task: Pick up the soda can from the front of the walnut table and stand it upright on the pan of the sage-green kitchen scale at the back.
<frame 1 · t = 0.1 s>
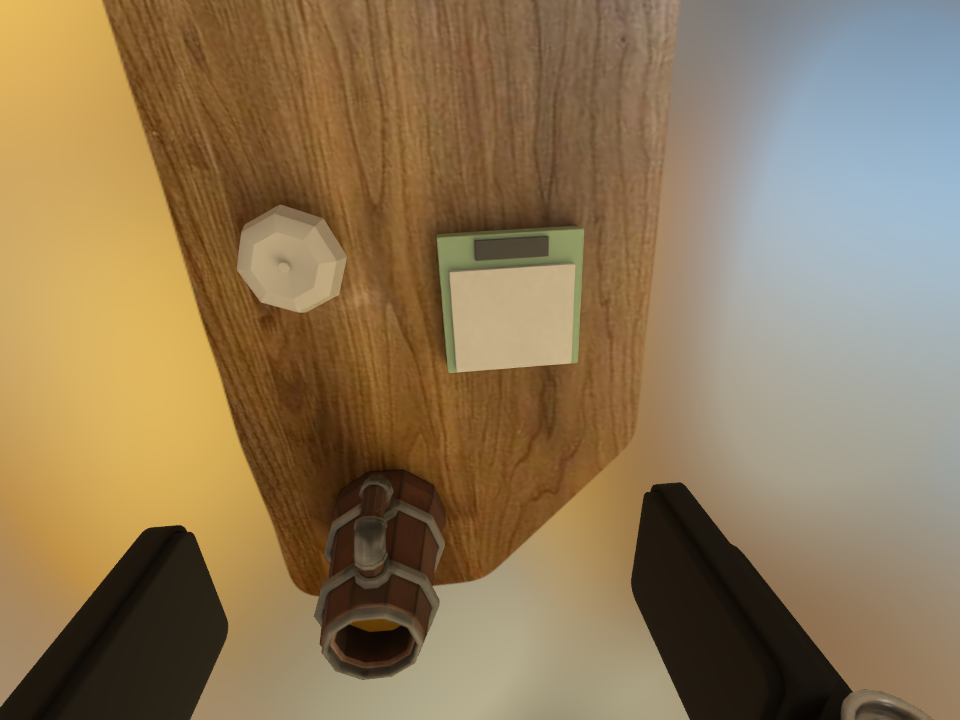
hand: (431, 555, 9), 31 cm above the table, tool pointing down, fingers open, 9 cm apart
mug: (388, 496, 48), on the table
scale: (509, 298, 40), on the table
faceted beige knob: (309, 251, 37), on the table
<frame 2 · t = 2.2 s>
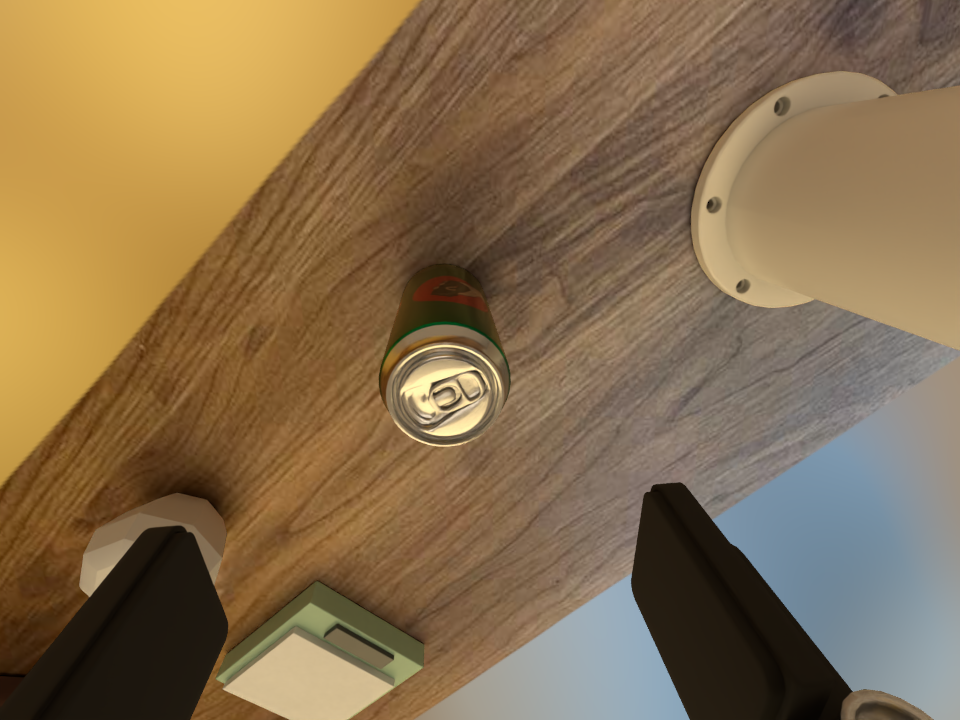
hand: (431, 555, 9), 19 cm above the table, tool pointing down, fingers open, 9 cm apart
mug: (47, 702, 39), on the table
soda can: (444, 302, 27), on the table
scale: (327, 649, 39), on the table
faceted beige knob: (192, 512, 32), on the table
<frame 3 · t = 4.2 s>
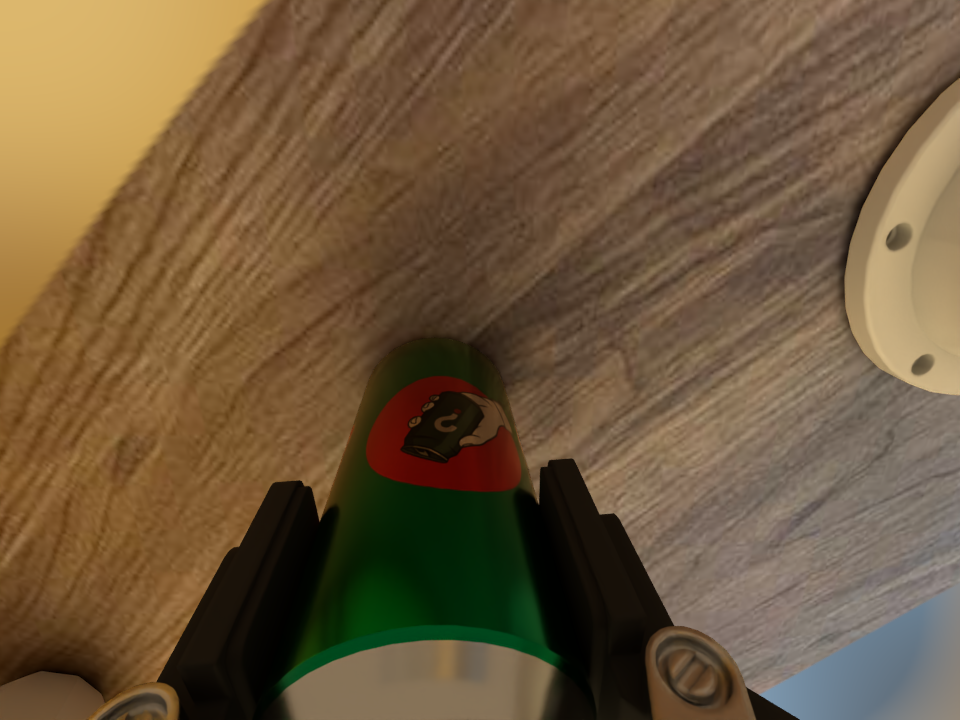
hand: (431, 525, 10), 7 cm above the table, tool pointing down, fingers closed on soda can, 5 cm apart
soda can: (436, 392, 17), on the table, touching gripper
faceted beige knob: (62, 689, 21), on the table
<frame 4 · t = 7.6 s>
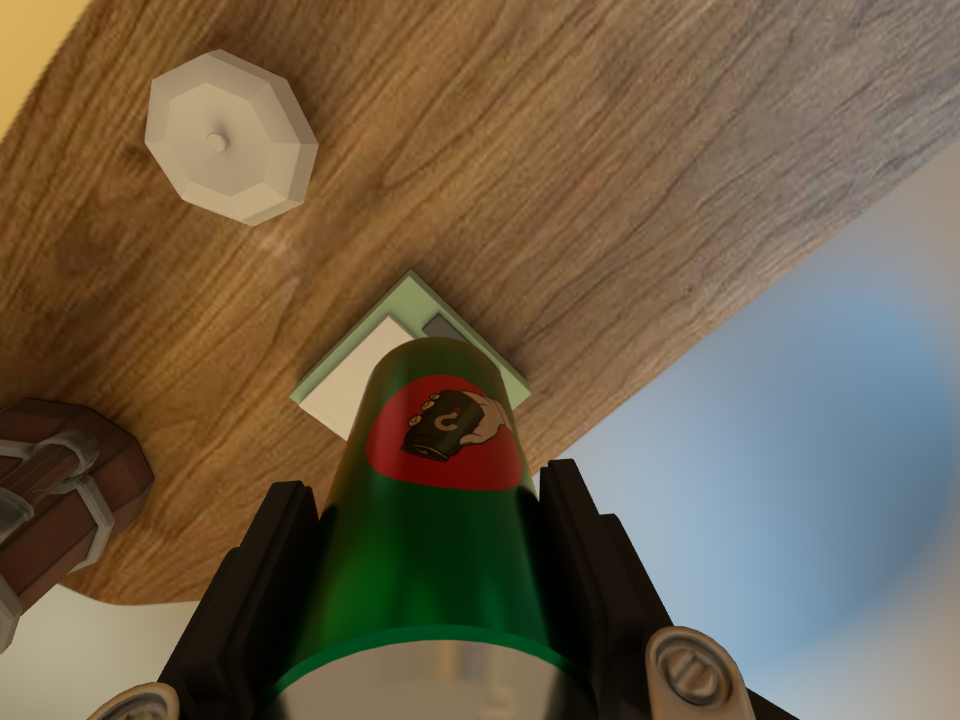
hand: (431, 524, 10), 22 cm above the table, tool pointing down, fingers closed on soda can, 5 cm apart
mug: (86, 449, 33), on the table
soda can: (436, 391, 17), point 15 cm above the table, touching gripper
scale: (414, 382, 33), on the table
faceted beige knob: (268, 147, 26), on the table
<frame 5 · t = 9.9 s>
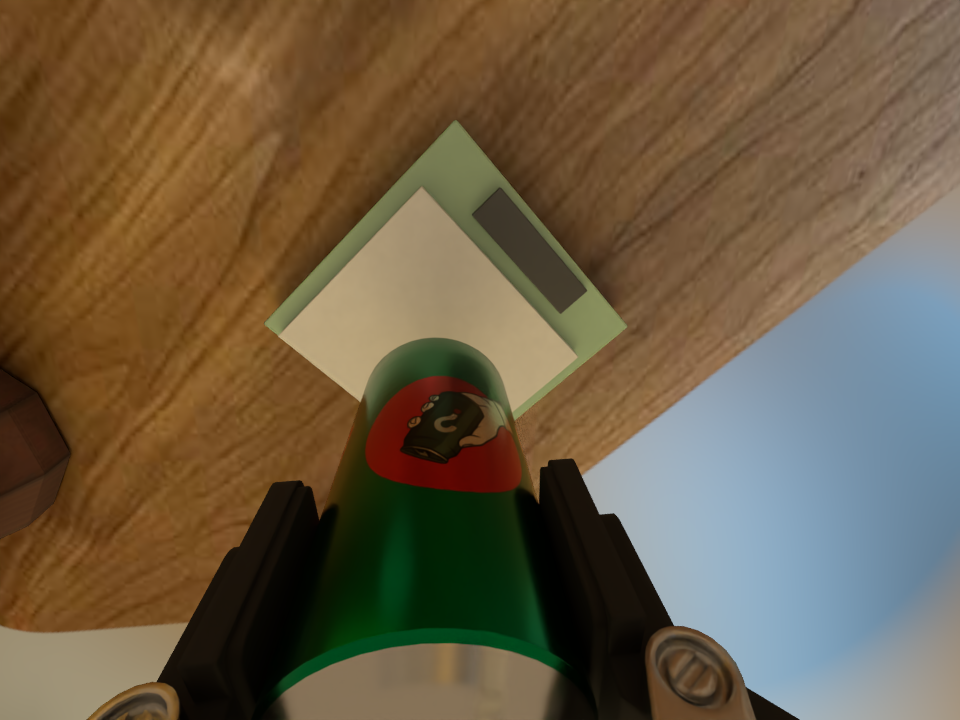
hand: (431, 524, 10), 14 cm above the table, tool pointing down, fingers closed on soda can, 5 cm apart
soda can: (436, 392, 17), point 7 cm above the table, touching gripper
scale: (451, 312, 22), on the table
when the fingers open (9 cm above the table, at t = 11.4 s): soda can stays where it is, resting on scale.
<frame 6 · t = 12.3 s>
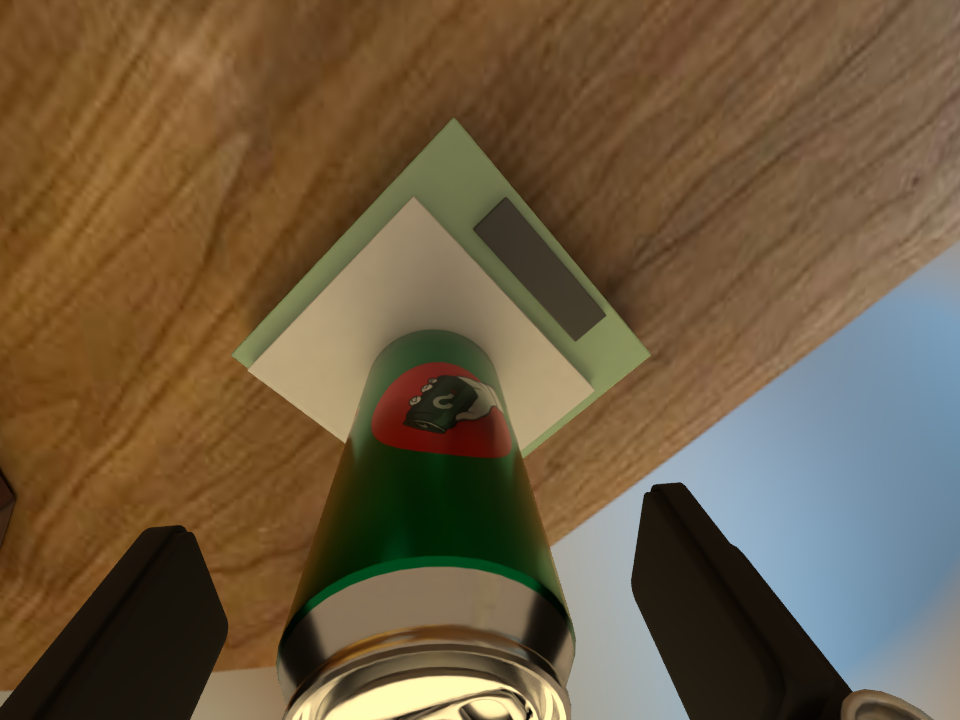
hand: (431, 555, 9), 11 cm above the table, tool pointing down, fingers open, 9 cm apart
soda can: (433, 382, 18), point 2 cm above the table, touching scale
scale: (449, 338, 20), on the table
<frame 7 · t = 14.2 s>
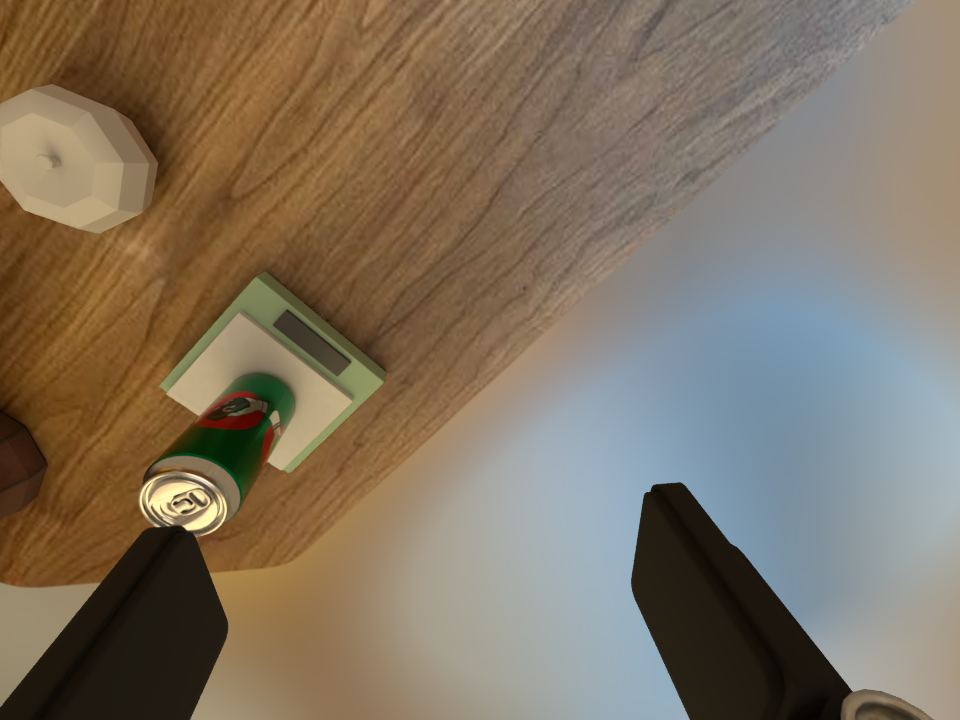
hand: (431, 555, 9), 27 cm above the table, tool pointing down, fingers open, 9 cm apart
soda can: (264, 398, 34), point 2 cm above the table, touching scale
scale: (282, 373, 36), on the table
faceted beige knob: (124, 164, 30), on the table
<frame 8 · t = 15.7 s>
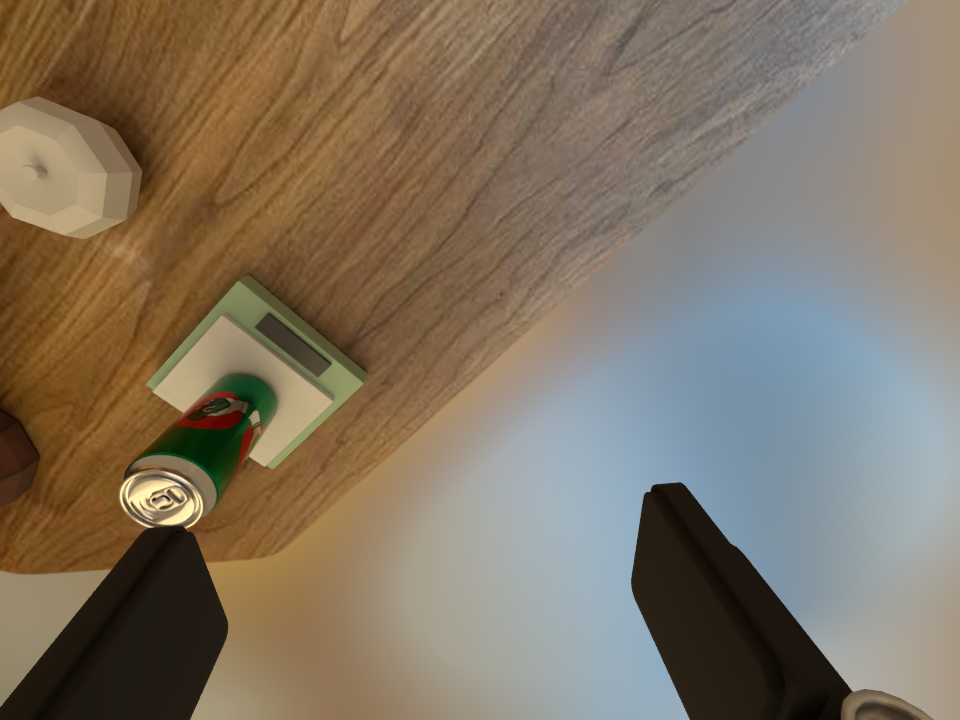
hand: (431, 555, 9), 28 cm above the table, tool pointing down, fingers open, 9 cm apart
soda can: (248, 397, 36), point 2 cm above the table, touching scale
scale: (265, 373, 37), on the table
faceted beige knob: (111, 171, 31), on the table
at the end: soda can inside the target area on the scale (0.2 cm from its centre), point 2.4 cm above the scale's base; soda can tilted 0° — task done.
